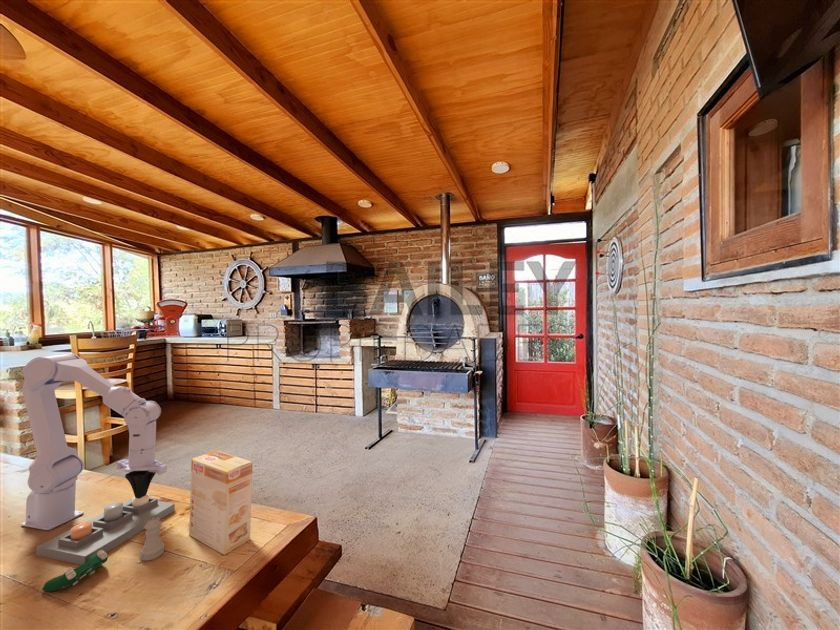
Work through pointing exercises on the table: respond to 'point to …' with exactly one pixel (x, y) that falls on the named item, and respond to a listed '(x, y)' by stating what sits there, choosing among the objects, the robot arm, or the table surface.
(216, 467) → the coffeecake box
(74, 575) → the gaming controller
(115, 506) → the button light grey
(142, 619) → the table surface
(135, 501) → the button ivory
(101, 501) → the table surface
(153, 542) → the rook chess piece
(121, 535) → the panel
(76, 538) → the button terracotta
